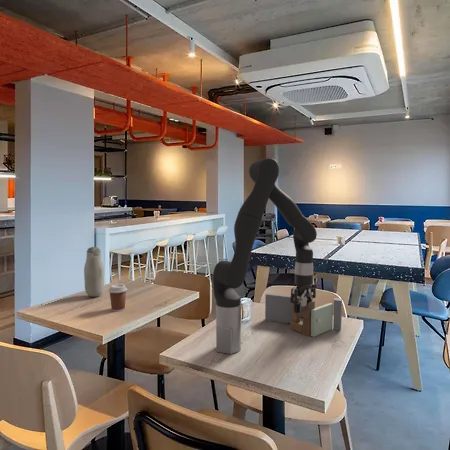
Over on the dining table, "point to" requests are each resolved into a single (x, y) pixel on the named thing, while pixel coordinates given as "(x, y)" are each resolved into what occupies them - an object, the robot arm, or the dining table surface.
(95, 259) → the beige bottle
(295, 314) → the wooden block
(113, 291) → the coffee cup
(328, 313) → the door
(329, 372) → the dining table surface
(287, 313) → the wall frame
